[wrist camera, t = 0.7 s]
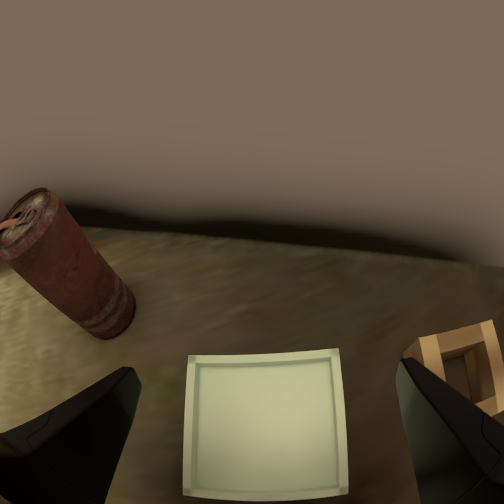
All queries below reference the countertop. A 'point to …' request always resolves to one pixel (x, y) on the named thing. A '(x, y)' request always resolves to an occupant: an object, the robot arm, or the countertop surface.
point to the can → (64, 264)
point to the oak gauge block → (467, 361)
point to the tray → (265, 427)
